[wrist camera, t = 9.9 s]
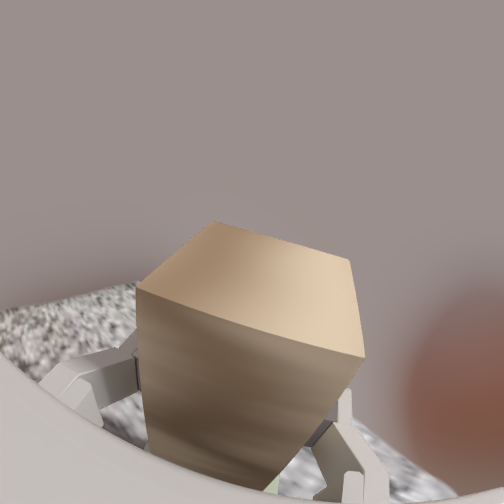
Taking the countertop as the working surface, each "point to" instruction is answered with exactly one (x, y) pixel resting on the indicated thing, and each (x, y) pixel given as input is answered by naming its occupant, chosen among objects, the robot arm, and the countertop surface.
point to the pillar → (243, 351)
